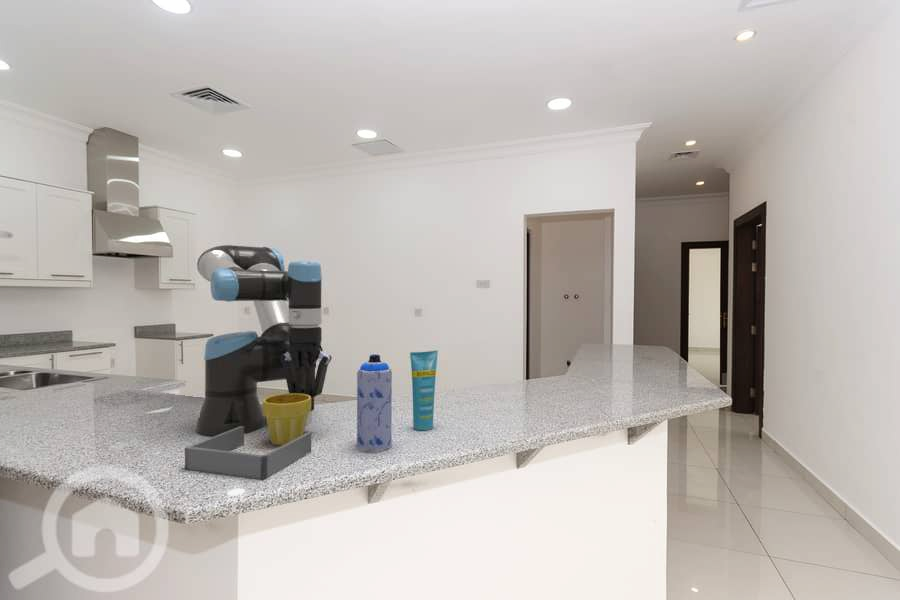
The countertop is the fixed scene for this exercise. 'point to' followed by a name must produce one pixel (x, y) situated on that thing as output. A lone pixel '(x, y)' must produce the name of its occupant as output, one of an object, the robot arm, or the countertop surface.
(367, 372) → the aerosol can
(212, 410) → the robot arm
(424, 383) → the tube
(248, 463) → the frame
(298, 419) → the plant pot
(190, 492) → the countertop surface
